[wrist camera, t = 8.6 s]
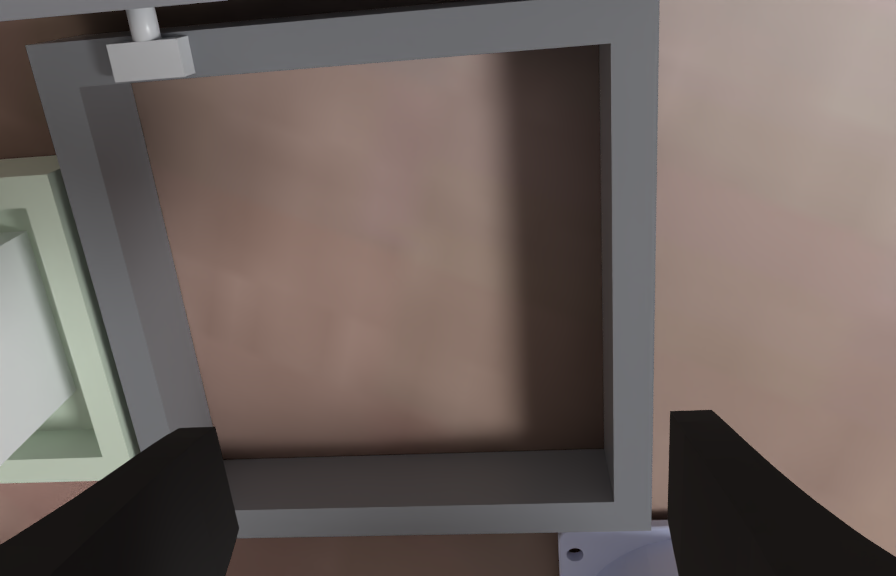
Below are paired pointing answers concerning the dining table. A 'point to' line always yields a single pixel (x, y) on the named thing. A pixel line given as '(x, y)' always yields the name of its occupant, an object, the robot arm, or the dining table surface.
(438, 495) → the case
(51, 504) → the dining table surface
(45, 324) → the block
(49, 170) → the bay
